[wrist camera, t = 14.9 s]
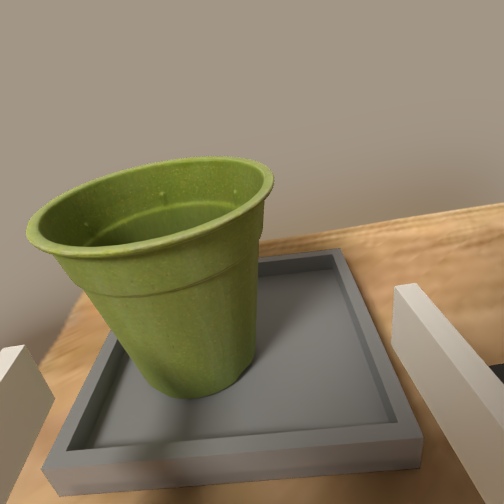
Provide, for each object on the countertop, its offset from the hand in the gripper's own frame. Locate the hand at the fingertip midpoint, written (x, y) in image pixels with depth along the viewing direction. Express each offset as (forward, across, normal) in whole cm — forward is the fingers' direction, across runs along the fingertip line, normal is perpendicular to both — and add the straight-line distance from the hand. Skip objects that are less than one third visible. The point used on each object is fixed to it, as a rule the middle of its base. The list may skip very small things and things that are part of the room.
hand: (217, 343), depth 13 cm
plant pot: (+8, -2, -8) cm, 11 cm away
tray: (+8, 0, -8) cm, 12 cm away
